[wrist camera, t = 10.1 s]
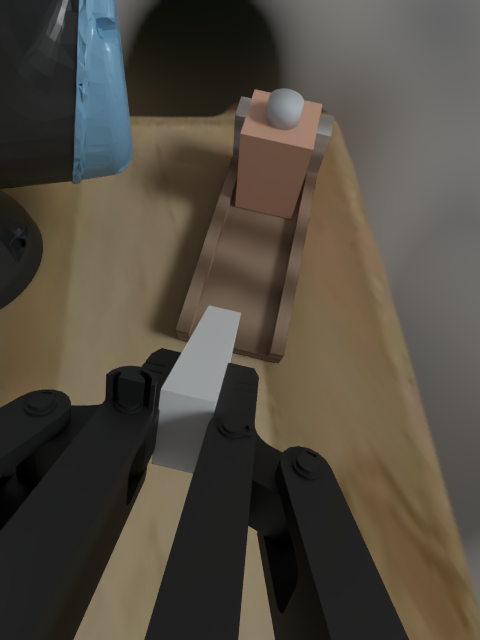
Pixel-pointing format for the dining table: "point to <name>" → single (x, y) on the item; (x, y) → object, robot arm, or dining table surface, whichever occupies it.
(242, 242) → the track
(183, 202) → the dining table surface
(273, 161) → the block
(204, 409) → the robot arm
